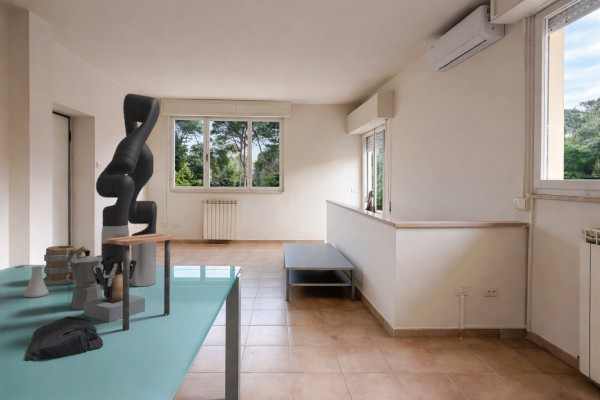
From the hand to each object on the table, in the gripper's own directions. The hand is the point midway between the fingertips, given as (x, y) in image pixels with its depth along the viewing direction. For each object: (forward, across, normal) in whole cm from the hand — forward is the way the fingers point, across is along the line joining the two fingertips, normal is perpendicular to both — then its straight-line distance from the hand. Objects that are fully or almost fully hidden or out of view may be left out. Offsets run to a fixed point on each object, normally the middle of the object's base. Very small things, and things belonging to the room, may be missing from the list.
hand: (115, 295), depth 113 cm
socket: (+5, 0, 0) cm, 5 cm away
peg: (+3, 0, 0) cm, 3 cm away
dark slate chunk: (+6, +19, +8) cm, 22 cm away
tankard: (+6, -14, -49) cm, 51 cm away
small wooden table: (+5, 0, +12) cm, 13 cm away
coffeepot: (+5, -1, -14) cm, 15 cm away
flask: (+6, +2, -40) cm, 40 cm away
